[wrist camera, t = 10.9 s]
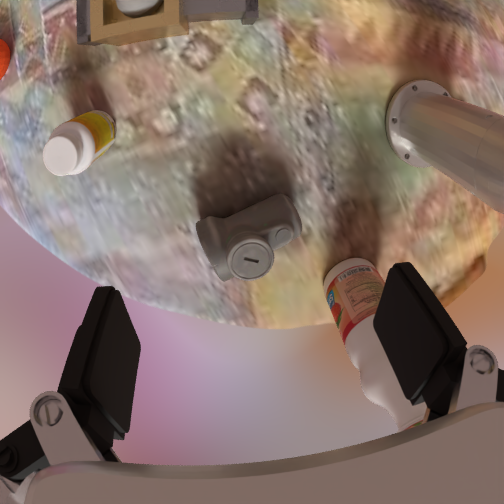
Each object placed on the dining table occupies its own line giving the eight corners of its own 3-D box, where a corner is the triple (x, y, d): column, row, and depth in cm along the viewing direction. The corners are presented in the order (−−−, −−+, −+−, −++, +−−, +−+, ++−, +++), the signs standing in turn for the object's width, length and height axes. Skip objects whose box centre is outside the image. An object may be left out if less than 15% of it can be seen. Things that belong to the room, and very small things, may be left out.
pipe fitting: (217, 263, 43) (225, 307, 34) (192, 214, 39) (192, 249, 30) (296, 228, 43) (323, 263, 34) (276, 176, 39) (302, 200, 30)
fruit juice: (384, 275, 49) (463, 415, 26) (342, 308, 52) (399, 453, 29) (355, 245, 45) (447, 407, 22) (310, 283, 48) (367, 452, 25)
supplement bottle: (89, 101, 29) (48, 117, 21) (125, 122, 31) (94, 144, 23) (70, 140, 31) (29, 168, 23) (104, 160, 33) (71, 193, 25)
